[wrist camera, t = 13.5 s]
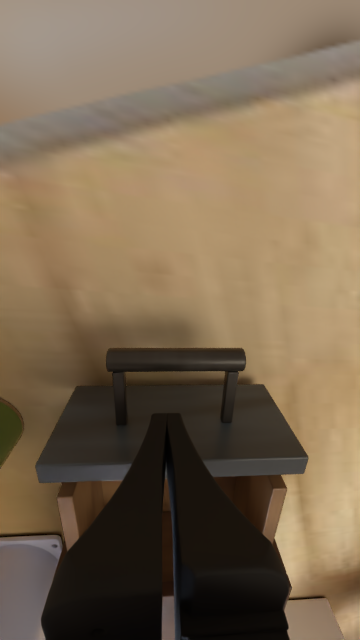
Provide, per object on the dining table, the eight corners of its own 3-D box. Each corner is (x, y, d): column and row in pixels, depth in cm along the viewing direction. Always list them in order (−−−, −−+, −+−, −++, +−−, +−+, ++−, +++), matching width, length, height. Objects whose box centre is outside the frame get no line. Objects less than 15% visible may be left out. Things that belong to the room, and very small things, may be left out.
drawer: (67, 323, 16) (14, 381, 10) (274, 324, 17) (332, 378, 11) (91, 507, 22) (67, 609, 16) (243, 501, 23) (269, 594, 17)
